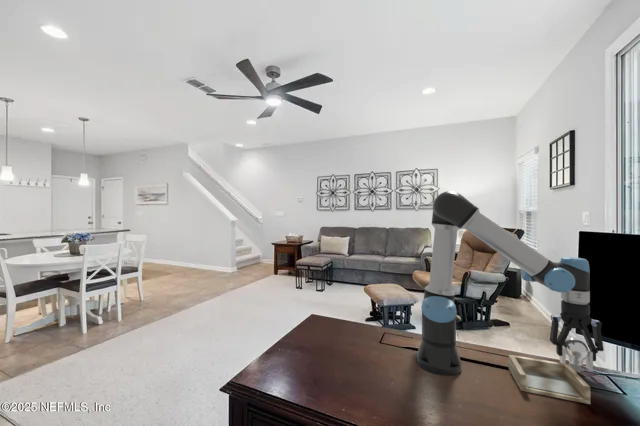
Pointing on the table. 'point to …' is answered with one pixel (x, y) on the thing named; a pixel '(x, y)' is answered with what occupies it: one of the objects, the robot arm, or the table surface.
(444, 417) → the table surface
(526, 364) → the shallow wooden tray
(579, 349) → the light bulb
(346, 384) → the table surface
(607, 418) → the table surface
